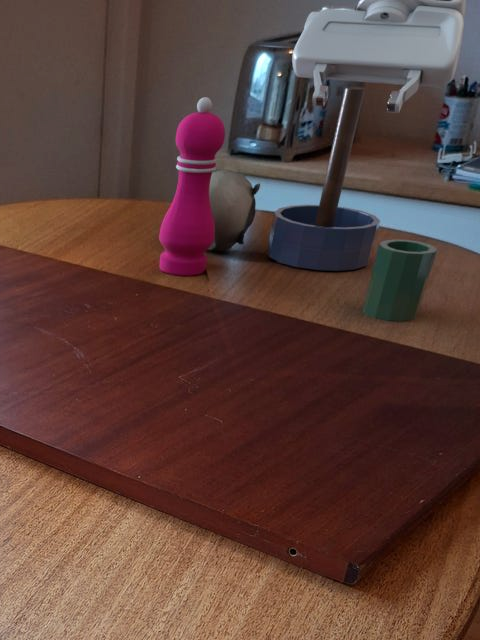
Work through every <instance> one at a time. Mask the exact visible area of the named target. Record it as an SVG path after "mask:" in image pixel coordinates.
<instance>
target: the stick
mask: <svg viewBox="0 0 480 640" xmlns="http://www.w3.org/2000/svg"><path fill="white" fill-rule="evenodd" d="M365 91H366V88H365V87H362V86H345V87H344V90H343V95H342V99H341V102H340V103H341V104H340V109H339V113H338V117H337V121H336V126H335V131H334V136H333V141H332V144H331V149H330V154H329V159H328V163H327V168H326V173H325V178H324V181H323V186H322V191H321V195H320V199H319V200H320V201H319V204H318V205H319V208H318V213H317V218H316V222H315V225H316V226H324V227H333V225H334V221H335V216H336V212H337V208H338V207H339V203H340V199H341V195H342V191H343V187H344V186H343V185H344V182H345V177H346V172H347V169H348V164H349V159H350V156H351V152H352V151H351V150H352V147H353V143H354V138H355V133H356V129H357V127H358V125H357V124H358V121H359V117H360V112H361V108H362V103H363V100H364V95H365Z"/></svg>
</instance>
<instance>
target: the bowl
mask: <svg viewBox="0 0 480 640" xmlns="http://www.w3.org/2000/svg"><path fill="white" fill-rule="evenodd" d="M318 208H319V204H296V205H287V206H284V207H279V208H278V209H276V210H275V211H274V212H273V215H272V216H273V217H272V222H271V227H270V233H269V238H268V242H267V248H266V253H267V255H268V257H269V258H271V259H272V260H274V261H275V262H276V263H277V264H283V265H287V266H291V267H295V268H300V269H306V270H307V269H308V270H312V271H313V270H314V271H327V272H330V271H331V272H342V271H352V270H357V269H361V268H365V267H367V266H368V265H369V264H370V261H371V259H372V255H373V251H374V247H375V243H376V238H377V236H378V235H377V234H378V232H379V228H380V223H381V220H380V218H378V217H377V216H376V215H374V214H372V213H369V212H367V211H363V210H359V209H355V208H350V207H345V206H338V208H337V212H336V216H335V221H334V225H333V227H324V226H316V225H315V222H316V218H317V213H318Z"/></svg>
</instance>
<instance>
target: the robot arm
mask: <svg viewBox="0 0 480 640" xmlns="http://www.w3.org/2000/svg"><path fill="white" fill-rule="evenodd" d="M466 8H467V0H359V1H358V3H357V5H356V6H355V5H342V6H341V5H339V6H336V5H335V6H334V5H333V4H332V5H331V4H327V5H322V7H321V8H318V9H315V10H313V11H311V12H310V13H309V14H308V16H307V18H306V21H305V23H304V26H303V30H302V32H301V34H300V36H299V38H298V40H297V42H296V44H295V46H294V48H293V51H292V55H291V57H292V58H291V62H292V70H293V73H294V74H295V76H296V77H297V78H306V79H313V86H314V87H313V88H314V92H313V94H312V100H311V101H312V106H313V107H325V105H326V102H327V101H328V99H329V85H325V84H326V81H327V80H332V81H334V80H335V81H347V82H361V83H374V84H387V85H400V86H401V85H402V87H401V89H399V90H391V93H390V95H389V98H388V101H387V104H386V113H393V114H395V113H396V114H400V111H401V110H402V106H403V104H404V103H405V102H406V101H408V100H409V99H410V98H411V97H412V96H413V95H415V94H416V93H417V92H418V90H419V87H428V88H429V87H430V88H444V87H445V86H447V85H448V84H450V83H451V82H452V81H453V79H454V77H455V74H456V72H457V71H456V70H457V67H458V63H459V57H460V53H461V47H462V41H463V34H464V28H465V27H464V26H465V16H466V11H467V9H466Z"/></svg>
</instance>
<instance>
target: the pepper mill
mask: <svg viewBox="0 0 480 640" xmlns="http://www.w3.org/2000/svg"><path fill="white" fill-rule="evenodd" d="M212 107H213V102H212V100H211V98H210V97H206V96H205V97H204V96H203V97H201V98H199V100H198V102H197V104H196V109H197V112H192V113H190V114H188V115H186V116H185V117H183V119H182V120H181V121H180V122H179V124H178V127H177V130H176V133H175V145H176V147H177V149H178V151H179V153H180V155H179V156H177V157H176V160H177V164H176V165H175V168H176V169H177V170H178V181H177V186H176V190H175V194H174V197H173V200H172V202H171V204H170V206H169V207H168V209H167V212H166V214H165V215H164V216H163V217H164V218H163V220H162V222H161V226H160V229H159V235H158V239H159V242H160V244H161V246H162V247H163V249H164V251H163V252H162V253H161V254H160V256H159V257H160V258H159V265H158V267H159V270H160V271H162V272H163V273H165V274H168V275H174V276H180V277H181V276H182V277H194V276H199V275H202V274H204V273H205V272H206V270H207V264H208V256H207V255H206V254H205V253H206V251H208V250H207V249H208V248H209V247H210V246H211V245H212V243H213V241H214V236H215V225H214V218H213V215H212V211H211V206H210V199H209V188H210V180H211V175H212V173H213V172H215V171H217V167H216V165H217V162H218V158H217V157H216V155H217V153H218V152H219V151H220V150H221V149H222V147H223V145H224V143H225V139H226V136H225V135H226V127H225V125H224V122H223V120H222V119H221V118H220V117H219V116H218V115H216V114H214V113H212V112H210V111H211V110H212Z"/></svg>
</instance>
